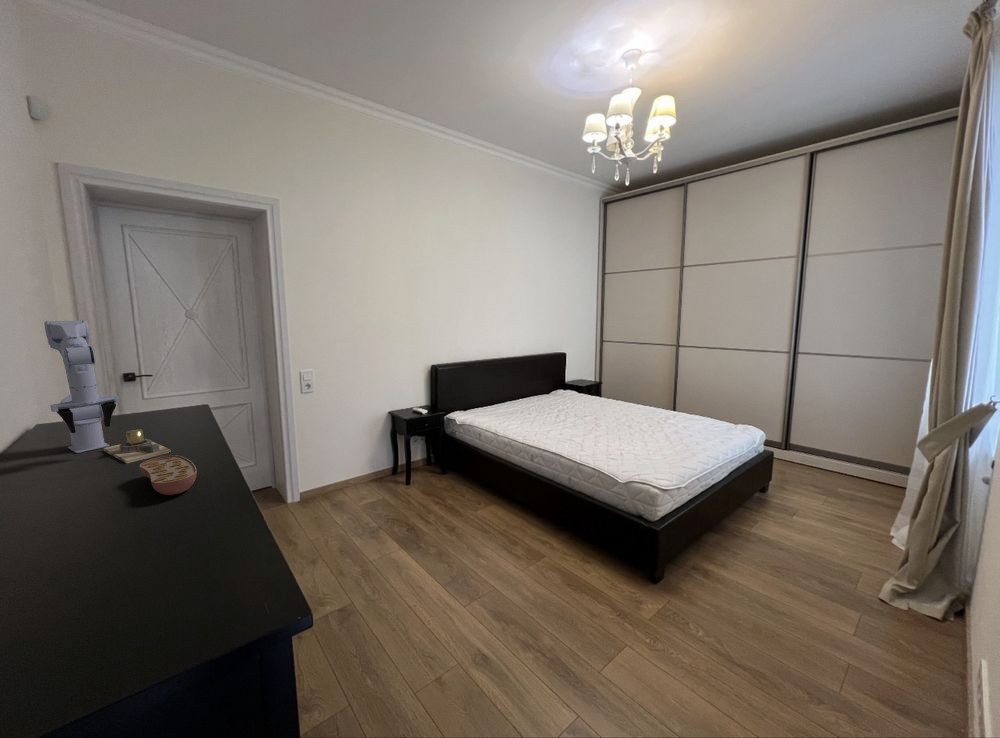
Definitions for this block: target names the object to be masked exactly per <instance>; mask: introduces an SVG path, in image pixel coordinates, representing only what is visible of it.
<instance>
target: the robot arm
mask: <svg viewBox="0 0 1000 738" xmlns="http://www.w3.org/2000/svg"><path fill="white" fill-rule="evenodd" d="M88 323H89V322H88V321H87V320H85V319H82V320H50V321H49V320H46V321H45V322H44V329H45V330H44V331H45V334H46V335H45V336H46V338H47V343H48V346H49V347H50V348H51V349H52V350H56V351H58V352H59V353H60V356H61V358H62V362H63V366H64V370H65V374H66V379H67V384H68V389H69V394H68V395H67V396H65V397H64V398H63V399H61V402H59V403H54V404H53V403H52V404H50V410H51V412H53V413H57V414H58V415H59V417H60V418H62V421H63V422H62V423H64V424H65V425H66V427H68V430H69V436H70V443H71V445H70V446H69V445H68V446H67V448H68V449H69V450H70V451H72V452H74V453H75V454H79V453H84V452H88V451H93V450H98V449H102V448H103V449H104V448H106V447H110V444H109V443H106V442H105V439H104V432H103V426H102V421H103V424H104V426H105V427H106V428H108V427H110V426H111V419H112V416H113V413H114V411H115V409H116V407H117V404H116V403H120V396H119V395H110V396H101V395H100V394H99V390H98V382H97V378H96V371H95V366H94V365H95V364H96V355H95V351H94V349H93V346H92V345H89V344H90V328H89V324H88ZM102 419H103V420H102Z"/></svg>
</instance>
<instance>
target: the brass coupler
mask: <svg viewBox="0 0 1000 738" xmlns="http://www.w3.org/2000/svg"><path fill="white" fill-rule="evenodd" d="M125 435H126V442H127V443H128V446H133V445H139V444H143V443H144V439H145V438H144V432H143V429H140V428H139V429H138V428H137V429H132V430H128V431H126V432H125Z"/></svg>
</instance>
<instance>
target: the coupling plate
mask: <svg viewBox="0 0 1000 738" xmlns="http://www.w3.org/2000/svg"><path fill="white" fill-rule="evenodd" d="M103 452H105V453H106V454H109V455H110V456H112V457H114V458H116V459H117V460H120V461H121V462H123V463H125V464H130V463H134V462H139V461H142V460H146V459H150V458H155V457H159V456H162V455H167V454H169V452H170V453H171V449H170V448H168V447H166V446H163V445H161V444H159V443H157V442H154V441H152V439H150V438H144V443H143V444H139V445H133V446H128V443H127V441H126V442H123V443H120V444H117V445H115V444H114V445H111V446H107V447H103Z"/></svg>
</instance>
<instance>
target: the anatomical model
mask: <svg viewBox="0 0 1000 738" xmlns="http://www.w3.org/2000/svg"><path fill="white" fill-rule="evenodd" d="M139 470H140V473H142V475H144V476H145V477H147V478H148V479H149V480H150V483H151V486H152V488H153V490H154V491H156V492H157V493H160V494H161V495H165V496H166V495H167V496H174V494H175V495H179V494H181V493H183V492H186V491H187V490H189V489H190V488H191V487H192V486H193V485H194V483H195V481H196V479H197V474H198V473H197V472H198V471H197V468H196V465H195V464H194V462H193V461H191V460H190V459H188V458H186V457H184V456H181V455H176V454H174V455H173V454H172V455H163V456H156V457H153V458H151V459H150V458H149V459H148V460H145V461H143V462H141V463H140V464H139Z"/></svg>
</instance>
